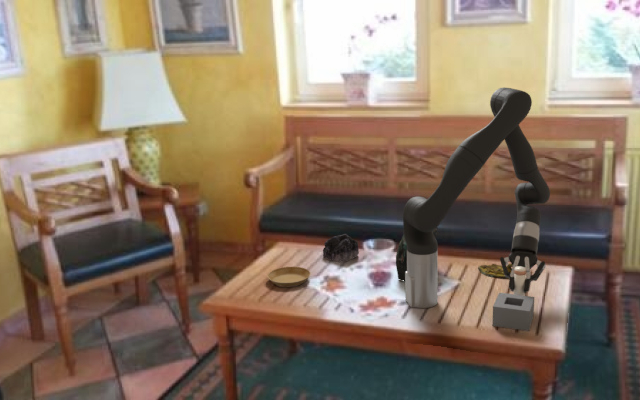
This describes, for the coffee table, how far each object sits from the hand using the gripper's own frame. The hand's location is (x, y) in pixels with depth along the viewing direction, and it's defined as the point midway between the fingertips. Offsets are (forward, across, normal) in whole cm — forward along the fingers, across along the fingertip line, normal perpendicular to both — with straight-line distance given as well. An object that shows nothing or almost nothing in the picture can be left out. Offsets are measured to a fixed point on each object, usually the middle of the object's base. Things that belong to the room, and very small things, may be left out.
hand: (518, 291), depth 197 cm
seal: (-14, -10, +23) cm, 29 cm away
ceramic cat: (-8, -36, +16) cm, 40 cm away
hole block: (+10, 0, -2) cm, 11 cm away
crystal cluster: (-14, -68, +22) cm, 72 cm away
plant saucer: (+6, -76, +3) cm, 76 cm away
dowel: (+2, 0, +5) cm, 6 cm away
